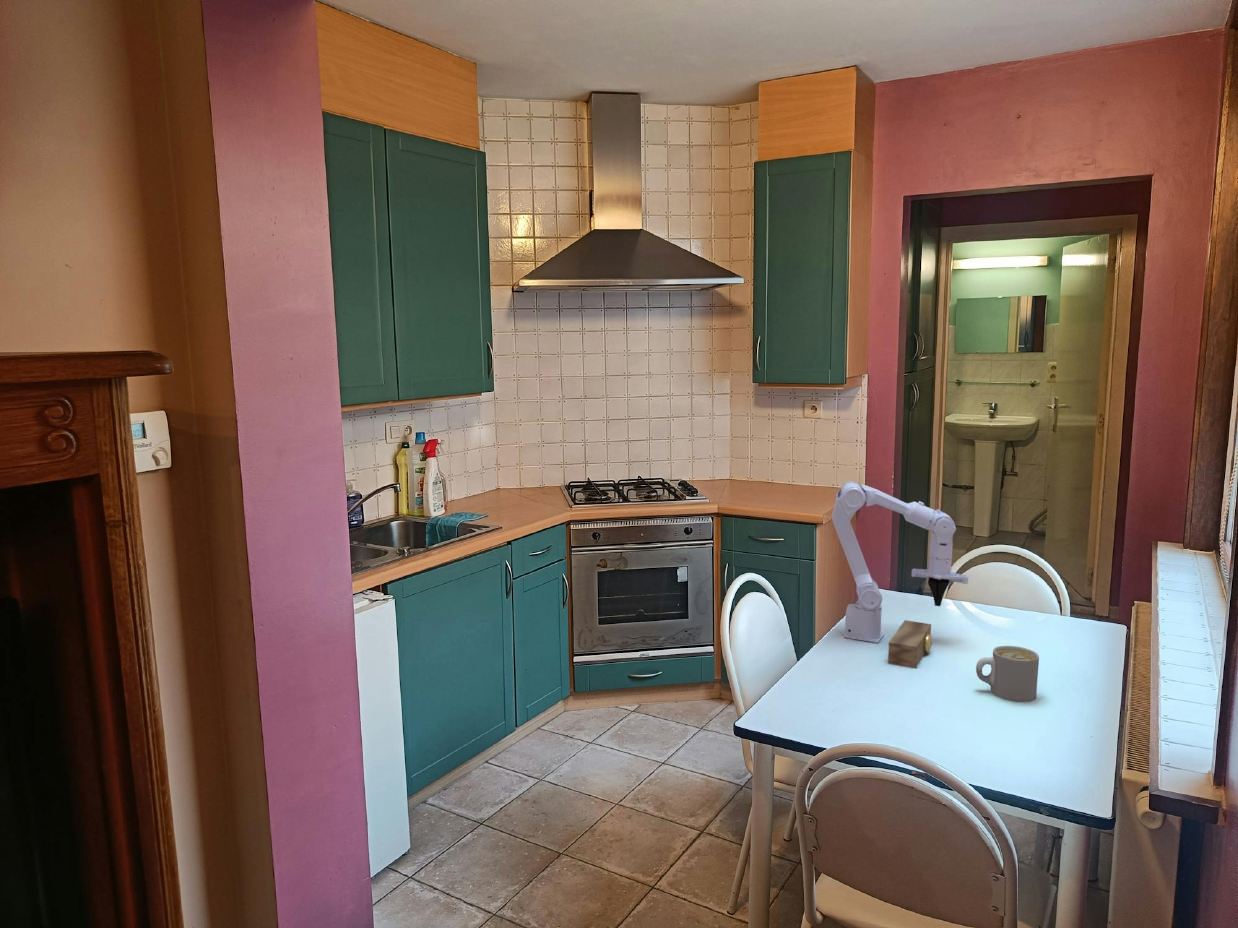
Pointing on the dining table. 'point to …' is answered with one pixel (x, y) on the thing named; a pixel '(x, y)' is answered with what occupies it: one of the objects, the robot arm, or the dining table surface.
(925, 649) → the steel pin
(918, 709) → the dining table surface
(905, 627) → the drawbar beam
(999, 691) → the coffee mug
